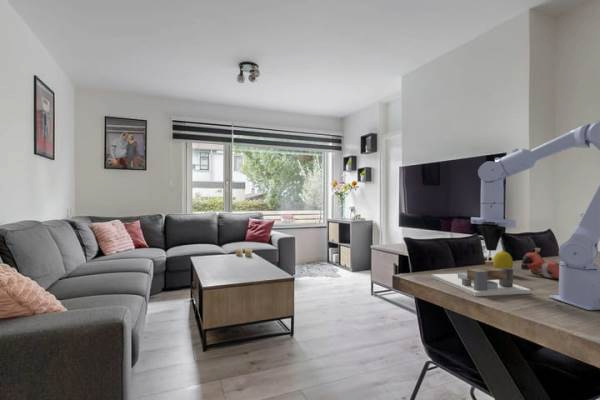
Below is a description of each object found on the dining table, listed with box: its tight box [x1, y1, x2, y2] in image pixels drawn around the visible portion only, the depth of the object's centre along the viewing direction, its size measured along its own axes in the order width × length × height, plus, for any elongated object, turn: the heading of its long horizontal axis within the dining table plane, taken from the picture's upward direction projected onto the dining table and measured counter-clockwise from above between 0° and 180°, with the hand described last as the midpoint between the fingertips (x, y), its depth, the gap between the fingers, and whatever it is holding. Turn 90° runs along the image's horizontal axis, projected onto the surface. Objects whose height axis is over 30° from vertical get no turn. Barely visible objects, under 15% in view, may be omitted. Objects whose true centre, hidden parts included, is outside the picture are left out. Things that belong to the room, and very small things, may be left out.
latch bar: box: [466, 267, 514, 287], centre depth 87 cm, size 13×3×4 cm, turn 102°
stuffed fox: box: [520, 247, 559, 280], centre depth 104 cm, size 8×11×12 cm
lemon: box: [492, 250, 514, 269], centre depth 106 cm, size 6×6×8 cm
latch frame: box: [431, 271, 532, 297], centre depth 92 cm, size 19×17×6 cm
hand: (491, 250), depth 92 cm, fingers closed
